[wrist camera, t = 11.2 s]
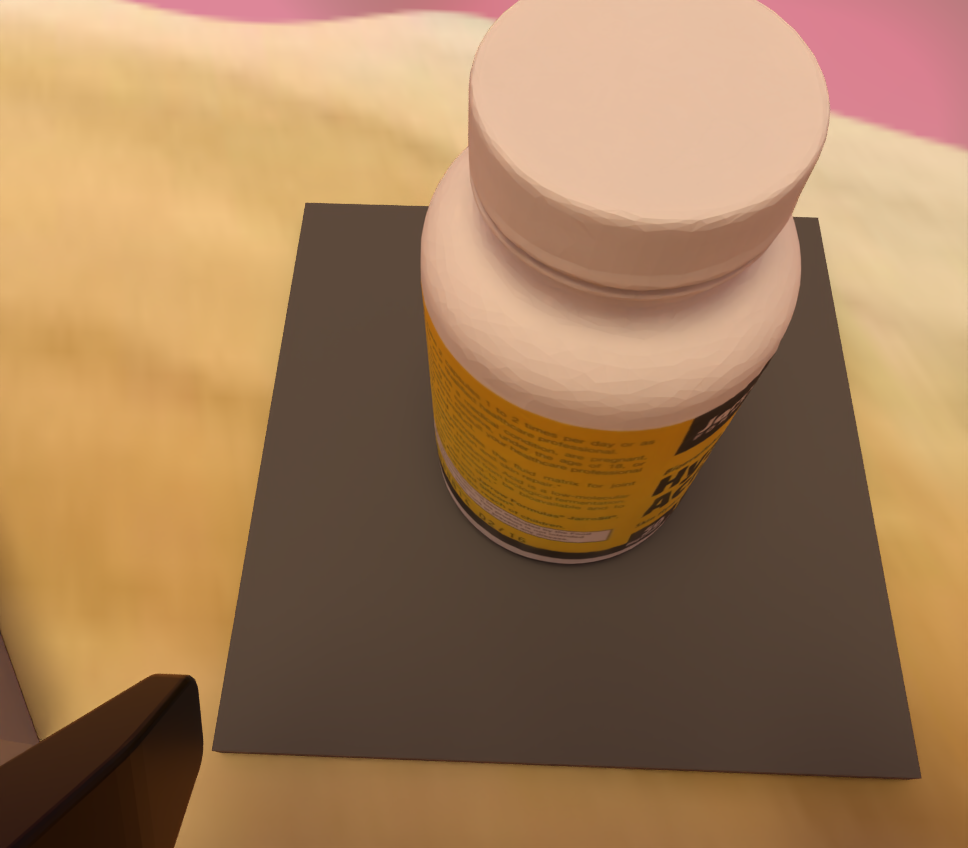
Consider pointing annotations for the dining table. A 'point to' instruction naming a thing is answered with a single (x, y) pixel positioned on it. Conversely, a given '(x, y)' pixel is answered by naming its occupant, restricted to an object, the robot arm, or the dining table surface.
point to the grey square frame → (13, 713)
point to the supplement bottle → (612, 259)
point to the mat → (552, 566)
